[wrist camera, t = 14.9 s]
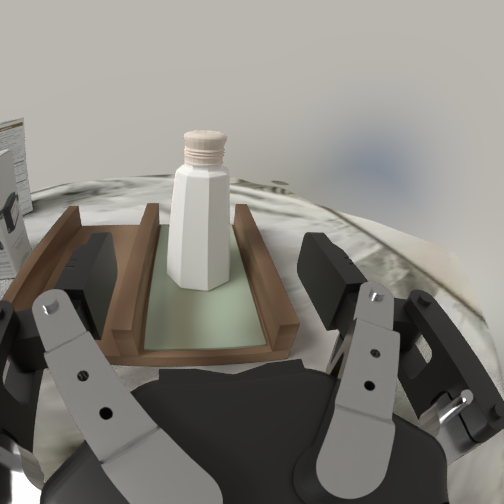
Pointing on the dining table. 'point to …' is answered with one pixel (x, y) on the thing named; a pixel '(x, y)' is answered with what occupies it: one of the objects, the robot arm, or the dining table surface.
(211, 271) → the salt shaker
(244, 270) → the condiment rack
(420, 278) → the dining table surface
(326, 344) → the dining table surface
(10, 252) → the ink box
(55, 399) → the dining table surface
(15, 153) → the syrup box
